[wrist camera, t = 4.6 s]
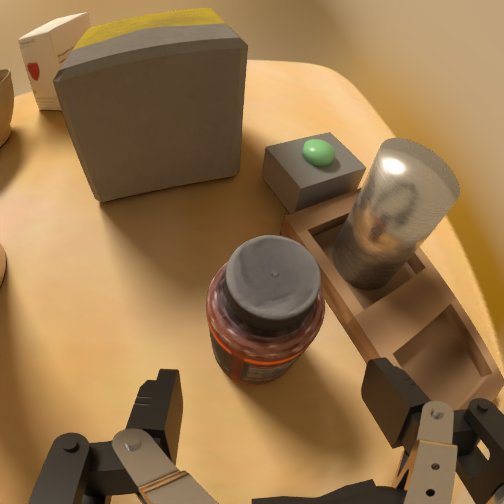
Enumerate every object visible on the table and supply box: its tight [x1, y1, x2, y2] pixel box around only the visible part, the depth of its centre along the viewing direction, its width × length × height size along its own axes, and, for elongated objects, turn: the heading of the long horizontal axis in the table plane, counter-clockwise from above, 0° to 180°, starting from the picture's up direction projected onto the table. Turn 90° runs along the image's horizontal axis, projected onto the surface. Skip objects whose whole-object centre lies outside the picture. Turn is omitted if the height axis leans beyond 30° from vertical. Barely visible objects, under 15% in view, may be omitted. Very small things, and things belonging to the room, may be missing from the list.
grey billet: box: [332, 138, 460, 290], centre depth 21 cm, size 6×6×11 cm
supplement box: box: [18, 12, 90, 110], centre depth 34 cm, size 9×9×15 cm
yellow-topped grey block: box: [53, 8, 248, 202], centre depth 29 cm, size 15×24×15 cm, turn 16°
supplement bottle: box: [206, 235, 325, 385], centre depth 17 cm, size 6×6×11 cm
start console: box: [262, 132, 366, 214], centre depth 29 cm, size 8×6×5 cm
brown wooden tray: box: [280, 188, 504, 410], centre depth 23 cm, size 24×10×2 cm, turn 28°
